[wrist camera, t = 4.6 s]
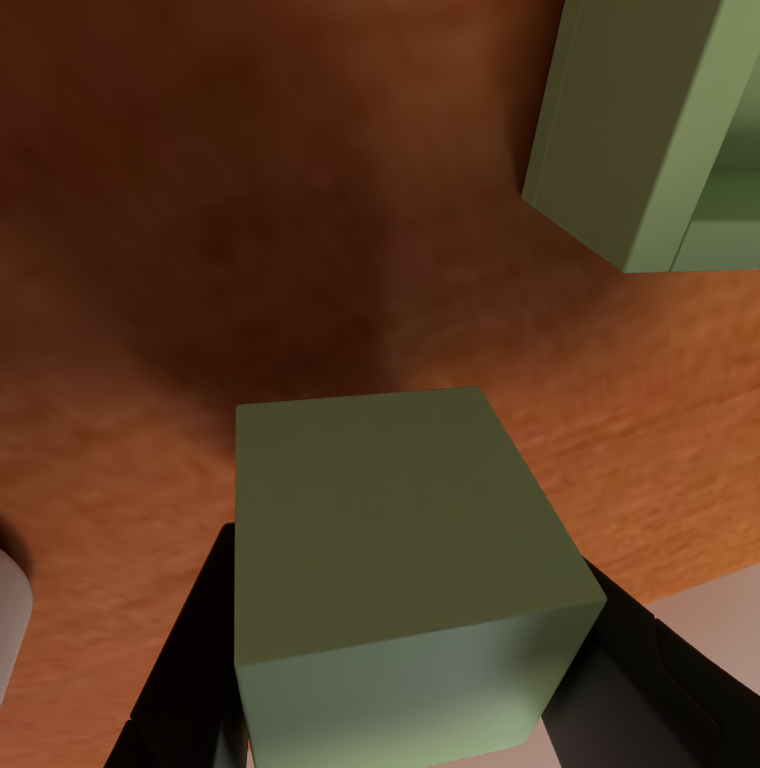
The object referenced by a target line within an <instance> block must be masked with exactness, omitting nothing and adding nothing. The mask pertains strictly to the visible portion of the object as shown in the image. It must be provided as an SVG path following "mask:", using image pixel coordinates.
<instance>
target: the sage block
mask: <svg viewBox="0 0 760 768" xmlns="http://www.w3.org/2000/svg"><path fill="white" fill-rule="evenodd" d="M606 601H607V597H606V595H605V593H604V591H603V590H602V588H601V587H600V585H599V583H598V582H597V580H596V578H595V577H594V575H593V573H592V572H591V570H590V568H589V567H588V565H587V563H586V562H585V560H584V559H583V557H582V555H581V554H580V552H579V550H578V549H577V547H576V545H575V544H574V542H573V540H572V539H571V537H570V536H569V534H568V532H567V531H566V529H565V527H564V526H563V524H562V522H561V521H560V519H559V517H558V516H557V514H556V512H555V511H554V509H553V508H552V506H551V504H550V503H549V501H548V499H547V498H546V496H545V494H544V493H543V491H542V489H541V488H540V486H539V485H538V483H537V481H536V480H535V478H534V476H533V475H532V473H531V471H530V470H529V468H528V466H527V465H526V463H525V461H524V460H523V458H522V457H521V455H520V453H519V452H518V450H517V448H516V447H515V445H514V443H513V442H512V440H511V438H510V437H509V435H508V434H507V432H506V430H505V429H504V427H503V425H502V424H501V422H500V420H499V419H498V417H497V415H496V414H495V412H494V410H493V409H492V407H491V406H490V404H489V402H488V401H487V399H486V397H485V396H484V394H483V392H482V391H481V389H480V387H478V386H471V387H458V388H446V389H433V390H420V391H407V392H394V393H381V394H368V395H355V396H343V397H330V398H317V399H304V400H291V401H278V402H265V403H252V404H240V405H237V407H236V465H235V600H234V666H235V671H236V676H237V681H238V686H239V691H240V696H241V701H242V706H243V711H244V716H245V721H246V727H247V732H248V737H249V742H250V747H251V752H252V757H253V761H254V766H255V768H425V767H429V766H433V765H438V764H441V763H446V762H450V761H454V760H459V759H463V758H467V757H471V756H476V755H480V754H484V753H488V752H493V751H497V750H501V749H505V748H510V747H514V746H518V745H522V744H524V743H525V742H526V741H527V739H528V737H529V735H530V734H531V732H532V730H533V729H534V727H535V725H536V723H537V722H538V720H539V718H540V716H541V715H542V713H543V711H544V709H545V708H546V706H547V704H548V702H549V701H550V699H551V697H552V695H553V694H554V692H555V690H556V689H557V687H558V685H559V683H560V682H561V680H562V678H563V676H564V675H565V673H566V671H567V669H568V668H569V666H570V664H571V662H572V661H573V659H574V657H575V655H576V654H577V652H578V650H579V648H580V647H581V645H582V643H583V641H584V640H585V638H586V636H587V634H588V633H589V631H590V629H591V628H592V626H593V624H594V622H595V621H596V619H597V617H598V615H599V614H600V612H601V610H602V608H603V607H604V605H605V603H606Z"/></svg>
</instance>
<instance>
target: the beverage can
mask: <svg viewBox="0 0 760 768" xmlns="http://www.w3.org/2000/svg"><path fill="white" fill-rule="evenodd" d="M32 605H33V596H32V590H31V586H30V583H29V581H28V579H27V577H26V575H25V574H24V572H23V571H22V570H21V568H20V567H19V566H18V565H17V564H16V563H15V562H14V560H13V559H12V558H10V557H9V556H8V555H7V554H6V553H5V552H3V551H2V550H1V549H0V707H1V704H2V700H3V697H4V694H5V691H6V688H7V685H8V682H9V679H10V676H11V673H12V670H13V667H14V664H15V661H16V658H17V655H18V652H19V649H20V646H21V643H22V640H23V637H24V634H25V631H26V628H27V624H28V621H29V618H30V615H31V612H32Z"/></svg>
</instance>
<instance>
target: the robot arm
mask: <svg viewBox="0 0 760 768" xmlns="http://www.w3.org/2000/svg"><path fill="white" fill-rule="evenodd" d="M582 557H583V556H582ZM583 559H584V560H585V562H586V563H587V565H588V567H589V568H590V570H591V572H592V573H593V575H594V577H595V578H596V580H597V582H598V583H599V585H600V587H601V588H602V590H603V591H604V593H605V595H606V597H607V601H606V603H605V605H604V607H603V608H602V610H601V612H600V614H599V615H598V617H597V619H596V621H595V622H594V624H593V626H592V628H591V629H590V631H589V633H588V634H587V636H586V638H585V640H584V641H583V643H582V645H581V647H580V648H579V650H578V652H577V654H576V655H575V657H574V659H573V661H572V662H571V664H570V666H569V668H568V669H567V671H566V673H565V675H564V676H563V678H562V680H561V682H560V683H559V685H558V687H557V689H556V690H555V692H554V694H553V695H552V697H551V699H550V701H549V702H548V704H547V706H546V708H545V709H544V711H543V713H542V715H541V718H542V720H543V722H544V725H545V727H546V730H547V732H548V735H549V737H550V740H551V742H552V745H553V747H554V750H555V752H556V755H557V757H558V760H559V762H560V765H561V767H562V768H760V696H759V695H757V694H756V693H755V692H753V691H752V690H750V689H749V688H748V687H746V686H745V685H743V684H742V683H741V682H739V681H738V680H736V679H735V678H733V677H732V676H731V675H730V674H728V673H727V672H726V671H724V670H723V669H722V668H720V667H719V666H718V665H716V664H715V663H713V662H712V661H711V660H709V659H708V658H707V657H705V656H704V655H702V653H700V652H699V651H698V650H697V649H695V648H694V647H693V646H691V645H690V644H689V643H688V642H686V641H685V640H684V639H683V638H681V637H680V636H679V635H678V634H676V633H675V632H674V631H672V629H670V628H669V627H668V626H667V625H666V624H664V623H663V622H662V621H660V620H659V619H658V618H657V619H655V617H654V615H653V614H652V613H651V612H650V611H648V610H647V609H646V608H645V607H644V606H642V605H641V604H640V603H639V602H638V601H636V600H635V599H634V598H633V597H631V596H630V595H629V594H628V593H627V592H625V591H624V590H623V589H622V588H621V587H619V586H618V585H617V584H616V583H615V582H613V581H612V580H611V579H610V578H609V577H607V576H606V575H605V574H604V573H602V572H601V571H600V570H599V569H598V568H596V567H595V566H594V565H593V564H592V563H590V562H589V561H588V560H587V559H586V558H584V557H583ZM234 600H235V522H232V523H226V524H224V525H223V527H222V528H221V530H220V532H219V534H218V536H217V538H216V540H215V542H214V545H213V547H212V549H211V551H210V553H209V555H208V557H207V559H206V561H205V563H204V565H203V567H202V569H201V571H200V573H199V575H198V577H197V579H196V581H195V583H194V585H193V587H192V589H191V591H190V593H189V595H188V597H187V600H186V602H185V604H184V606H183V608H182V610H181V612H180V614H179V616H178V618H177V620H176V622H175V624H174V626H173V628H172V630H171V632H170V634H169V636H168V638H167V640H166V642H165V644H164V646H163V648H162V650H161V653H160V655H159V657H158V659H157V661H156V663H155V665H154V667H153V669H152V671H151V673H150V675H149V677H148V679H147V681H146V683H145V685H144V687H143V689H142V691H141V693H140V695H139V697H138V699H137V701H136V703H135V705H134V708H133V710H132V712H131V714H130V718H131V720H128V721H126V723H125V725H124V727H123V729H122V731H121V733H120V735H119V738H118V740H117V742H116V744H115V746H114V748H113V750H112V752H111V753H110V755H109V757H108V759H107V761H106V763H105V765H104V767H103V768H246V764H247V750H248V732H247V727H246V721H245V716H244V711H243V706H242V701H241V696H240V691H239V686H238V681H237V676H236V671H235V666H234Z"/></svg>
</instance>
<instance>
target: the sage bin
mask: <svg viewBox="0 0 760 768" xmlns="http://www.w3.org/2000/svg"><path fill="white" fill-rule="evenodd" d="M521 198H522V200H523V201H525V202H526V203H528V204H529V205H530V206H532V207H533V208H535V209H536V210H538V211H539V212H540V213H542V214H543V215H545V216H546V217H547V218H549V219H550V220H551V221H553V222H554V223H555V224H557V225H558V226H560V227H561V228H562V229H564V230H565V231H566V232H568V233H569V234H571V235H572V236H573V237H575V238H576V239H577V240H579V241H580V242H582V243H583V244H584V245H586V246H587V247H588V248H590V249H591V250H592V251H594V252H595V253H597V254H598V255H599V256H601V257H602V258H603V259H605V260H606V261H608V262H609V263H610V264H612V265H613V266H614V267H616V268H617V269H619V270H620V271H621V272H623V273H649V272H667V271H670V272H689V271H720V270H751V269H760V0H565V2H564V7H563V11H562V16H561V20H560V25H559V29H558V34H557V38H556V43H555V47H554V52H553V57H552V61H551V66H550V70H549V75H548V79H547V84H546V88H545V93H544V97H543V102H542V106H541V111H540V115H539V120H538V124H537V129H536V133H535V138H534V142H533V147H532V151H531V156H530V160H529V165H528V169H527V174H526V178H525V183H524V187H523V192H522V196H521Z"/></svg>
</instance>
